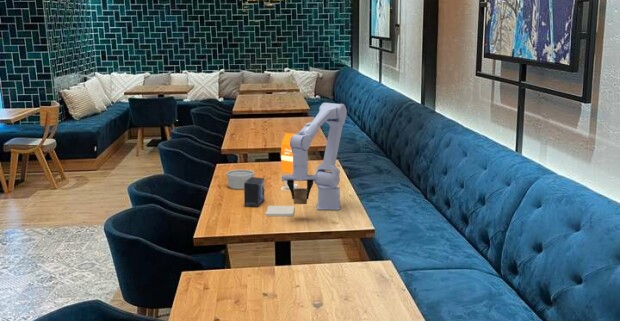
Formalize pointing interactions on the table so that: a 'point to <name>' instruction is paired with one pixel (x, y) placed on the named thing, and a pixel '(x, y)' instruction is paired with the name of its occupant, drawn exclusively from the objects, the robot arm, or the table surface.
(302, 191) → the walnut block
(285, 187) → the teacup and saucer
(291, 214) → the ceramic tile
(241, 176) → the ramekin
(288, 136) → the orange juice
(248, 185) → the small box
